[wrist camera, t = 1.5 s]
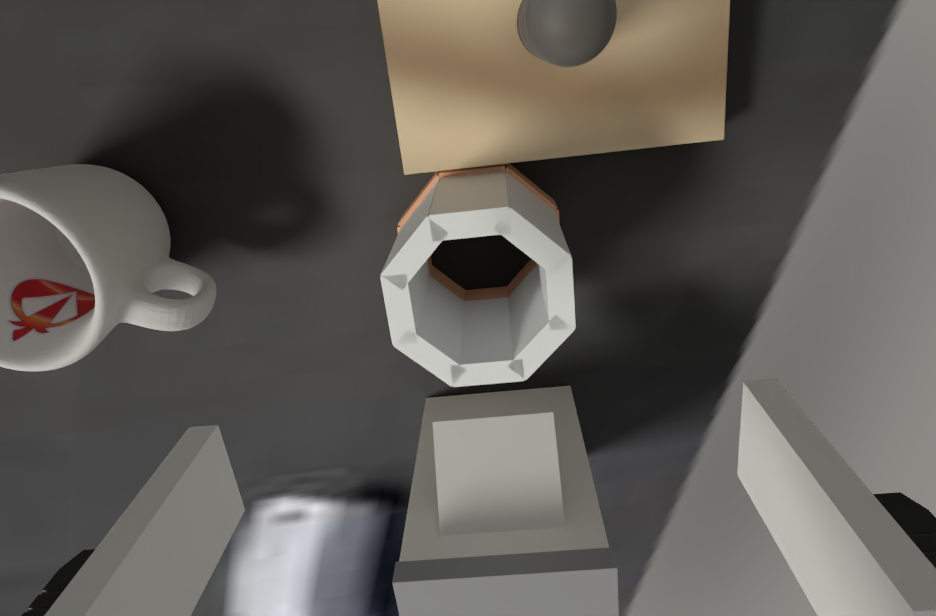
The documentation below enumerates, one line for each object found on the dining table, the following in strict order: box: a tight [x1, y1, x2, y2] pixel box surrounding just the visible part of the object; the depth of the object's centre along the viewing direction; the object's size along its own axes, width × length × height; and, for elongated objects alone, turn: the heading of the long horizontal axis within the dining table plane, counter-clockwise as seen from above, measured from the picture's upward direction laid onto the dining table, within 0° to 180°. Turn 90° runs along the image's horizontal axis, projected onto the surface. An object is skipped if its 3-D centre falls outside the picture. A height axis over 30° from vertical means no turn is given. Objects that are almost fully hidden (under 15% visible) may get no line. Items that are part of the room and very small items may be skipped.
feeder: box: [392, 386, 619, 616], centre depth 29 cm, size 9×8×13 cm
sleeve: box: [380, 163, 576, 387], centre depth 28 cm, size 8×8×8 cm
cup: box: [0, 164, 216, 371], centre depth 28 cm, size 11×8×8 cm
